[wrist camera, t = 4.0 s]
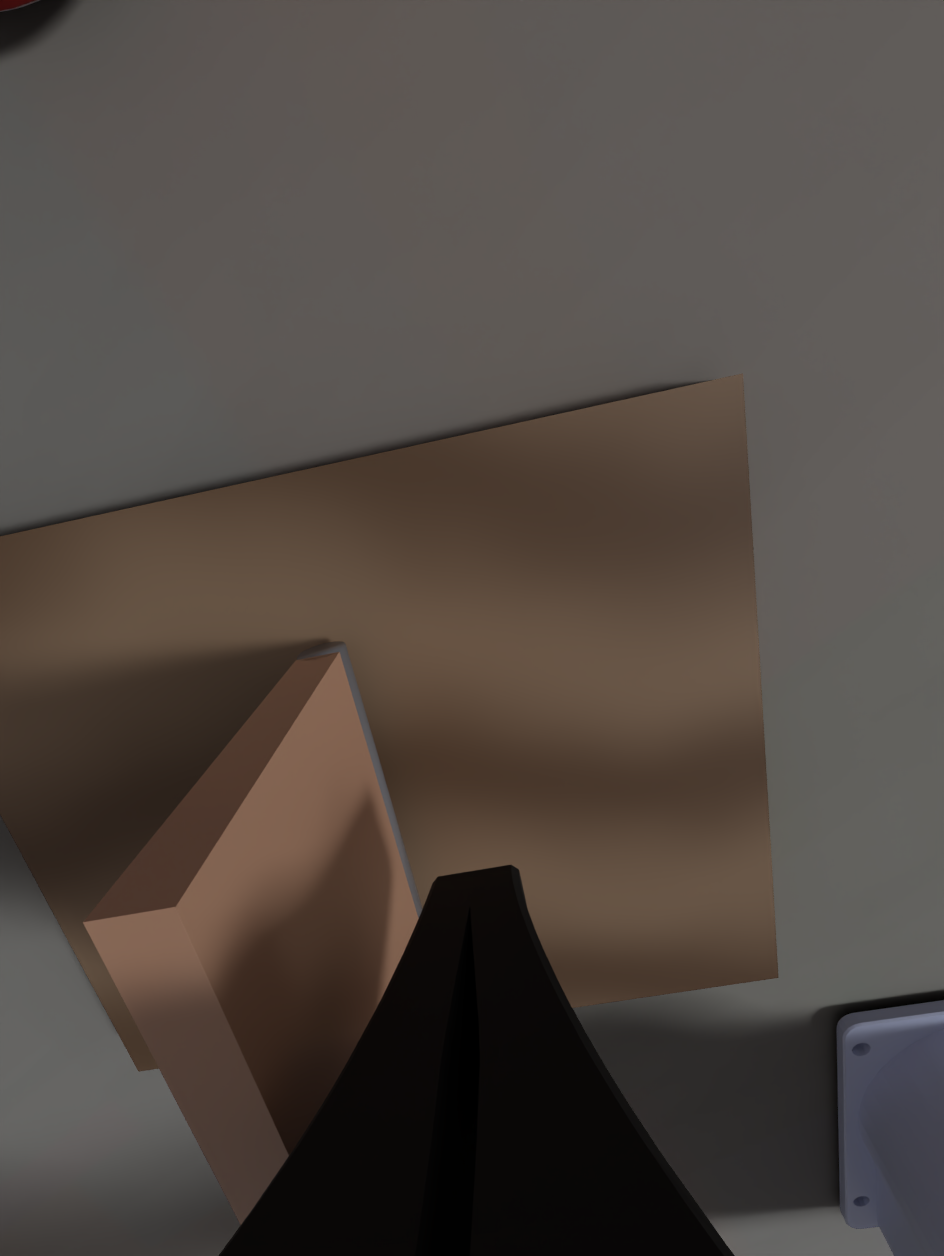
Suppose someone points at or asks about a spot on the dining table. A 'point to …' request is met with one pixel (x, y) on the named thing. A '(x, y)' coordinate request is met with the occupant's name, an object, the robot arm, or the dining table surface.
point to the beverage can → (14, 4)
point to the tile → (265, 922)
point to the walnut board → (434, 677)
